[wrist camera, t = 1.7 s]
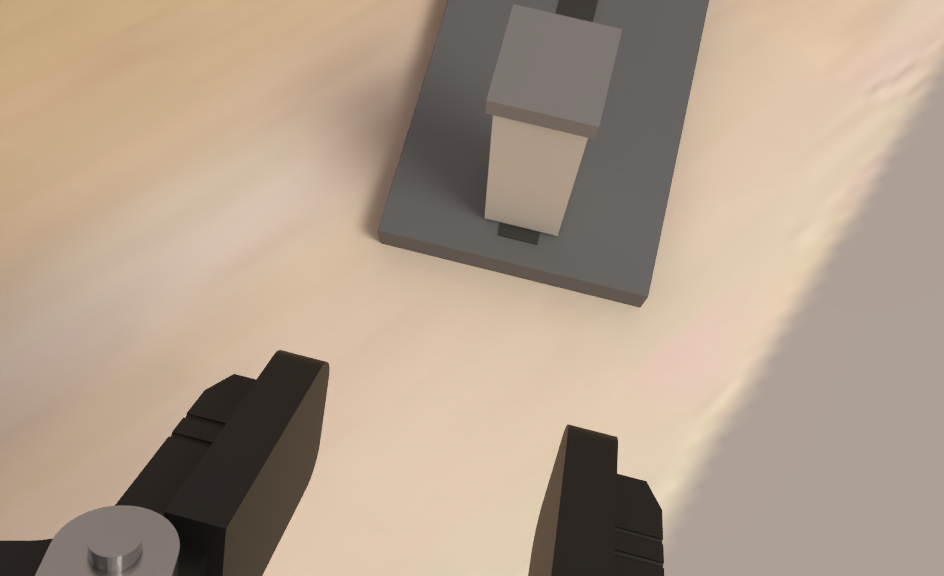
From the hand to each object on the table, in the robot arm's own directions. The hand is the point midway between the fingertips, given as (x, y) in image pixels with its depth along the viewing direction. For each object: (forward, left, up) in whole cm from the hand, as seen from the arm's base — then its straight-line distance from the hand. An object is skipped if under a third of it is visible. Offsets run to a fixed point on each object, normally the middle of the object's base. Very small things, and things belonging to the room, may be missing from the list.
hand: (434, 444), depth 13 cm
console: (0, +22, -22) cm, 31 cm away
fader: (0, +13, -20) cm, 24 cm away
